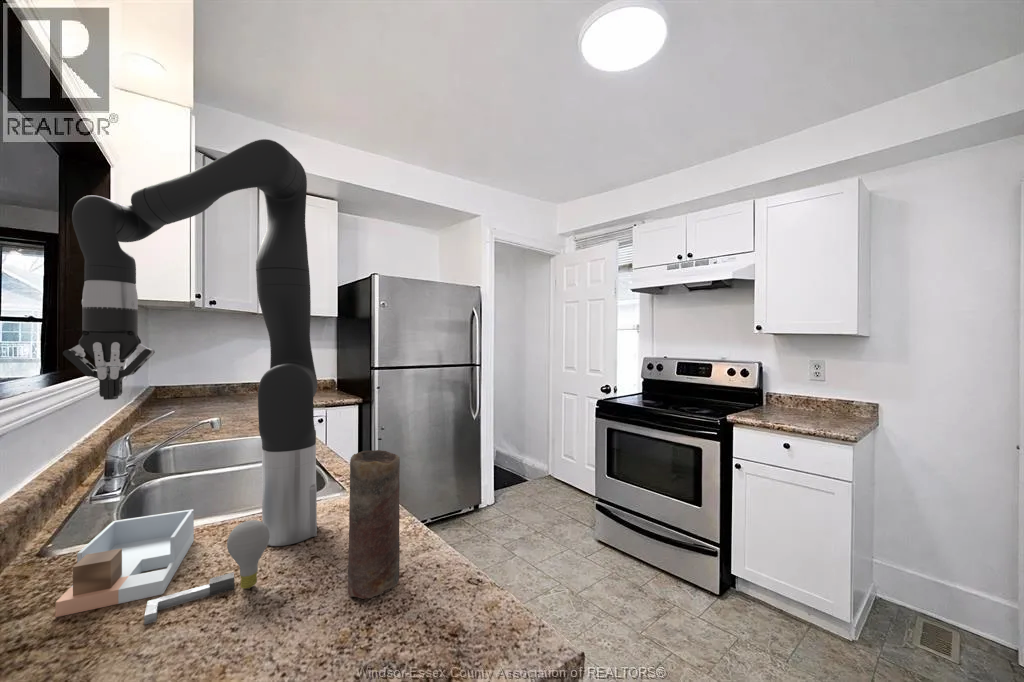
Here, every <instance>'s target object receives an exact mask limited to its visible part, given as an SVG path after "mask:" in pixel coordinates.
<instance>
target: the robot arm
mask: <svg viewBox="0 0 1024 682" xmlns="http://www.w3.org/2000/svg"><path fill="white" fill-rule="evenodd" d="M307 179H308V178H307V174H306V170H305V168H304V166H303V165H302V163H301V162H300V161H299V159H297V158H296V157H295V156H294V155H293V154H292V153H291V152H290V151H289V150H288V149H287V148H286V147H285V146H283V145H282V144H280V143H279V142H277V141H275V140H272V139H266V138H265V139H264V138H263V139H262V138H261V139H257V140H253V141H252V142H250V143H247V144H244V145H242V146H241V147H237V148H236V149H235V150H233V151H231V152H229V153H227V154H225V155H223V156H221V157H220V158H217V159H215V160H213V161H211V162H209V163H207V164H206V165H203V166H201V167H199V168H197V169H195V170H193V171H191V172H188V173H186V174H183V175H181V176H177V177H173V178H171V179H169V180H165V181H161V182H158V183H156V184H151V185H148V186H145V187H142V188H139V189H137V190H135V191H133V193H132V195H131V196H130V203H131V204H129V205H124V204H121V203H119V202H117V201H114V200H111V199H108V198H106V197H103V196H100V195H92V194H91V195H86V196H83V197H82V198H80V199H79V200H77V202H76V203H75V204H74V206H73V209H72V213H71V221H72V222H71V223H72V225H73V230H74V232H75V236H76V238H77V242H78V244H79V249H80V250H81V253H82V255H83V258H84V284H83V288H82V299H81V305H82V314H81V315H82V317H81V318H82V327H81V329H82V335H81V337H80V339H79V340H78V344H77V345H75V346H73V347H72V348H70V349H65V350H64V351H62V355H63V357H65V358H66V359H67V360H68V361H69V362H71V364H73V365H74V366H75V367H76V368H77V369H78V370H79V371H80V372H82V374H84V376H85V377H87V378H89V377H91V378H95V379H97V380H98V382H99V385H98V386H99V388H98V389H99V392H98V393H99V394H98V395H99V396H100V398H101V397H102V398H103V400H104V401H106V400H107V401H108V400H117V399H119V396H122V394H123V379H124V378H126V377H128V376H131V375H133V376H134V375H135V374H136V372H138V371H139V370H140V369H141V368H142V366H144V365H145V364H146V363H147V362H148V361H149V359H151V358H152V356H154V355H155V353H156V352H155V349H153V348H149V347H147V346H145V345H143V344H142V340H141V338H140V337H139V334H138V333H139V328H138V327H139V321H138V320H139V319H138V317H139V316H138V315H139V314H138V313H139V310H138V309H139V308H138V307H139V300H138V299H139V297H138V291H137V290H138V289H137V264H136V260H135V258H134V257H133V256H132V255H131V254H129V253H128V252H125V250H123V249H122V247H121V245H120V243H134V242H138V241H142V240H143V239H144V240H145V238H148V237H149V236H151V235H152V234H154V233H155V232H157V231H159V230H160V229H161V228H163V227H164V226H167V225H170V224H174V223H177V222H181V221H183V220H187V219H189V218H193V217H196V216H197V215H199V214H201V213H203V212H204V211H206V210H207V209H208V208H210V207H211V206H212V205H213V204H214V203H215V202H217V201H218V200H219V199H221V198H222V197H223V196H225V195H228V194H230V193H233V192H236V191H242V190H246V189H253V188H255V189H259V190H260V191H262V192H263V195H264V199H265V208H266V220H267V221H266V229H265V230H266V231H265V232H264V233H265V234H264V236H263V239H262V241H261V244H260V245H259V249H258V251H257V252H258V253H257V256H256V261H255V276H256V292H257V297H258V303H259V307H260V309H261V314H262V316H263V320H264V322H265V327H266V329H267V333H268V337H269V345H270V363H269V369H268V370H266V371H265V373H264V374H263V376H262V377H261V379H260V380H259V385H258V388H257V389H258V390H257V391H258V392H257V411H258V412H257V413H258V415H257V416H258V418H257V419H258V432H259V436H260V439H261V506H262V508H261V518H262V519H261V522H263V523H264V524H265V525H266V526H267V527H268V530H269V535H270V538H269V542H268V545H267V546H270V547H283V546H290V545H293V544H297V543H301V542H303V541H305V540H308V539H310V538H313V537H317V536H318V534H317V533H318V531H317V529H318V528H317V526H318V525H317V522H318V520H317V519H318V518H317V516H318V514H317V513H318V512H317V511H318V509H317V502H318V501H317V497H318V496H317V493H318V492H317V432H316V428H315V419H314V414H315V413H314V398H315V395H316V394H317V390H318V379H317V373H316V369H315V364H314V358H313V357H314V356H313V350H312V344H311V311H312V310H311V309H312V308H311V307H312V306H311V279H310V278H311V277H310V266H309V258H308V257H309V256H308V254H309V253H308V242H307V241H308V238H307V231H306V208H307V207H306V206H307V193H308V192H307V191H308V189H307V188H308V181H307ZM135 351H136V352H135ZM134 352H135V355H136V357H135V358H134V359H133V360H132V361H131V362H130V363H129V364H128V365H127V366H126V364H127V363H126V362H127V360H128V359H129V358H130V356H132V355H133V354H134ZM86 353H87V355H89V356H90V357H91V359H93V360H94V364H92V363H91V362H90V361H89V360H88V359H87V358H85V357H86ZM94 365H95V366H94Z"/></svg>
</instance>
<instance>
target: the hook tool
mask: <svg viewBox="0 0 1024 682" xmlns="http://www.w3.org/2000/svg"><path fill="white" fill-rule="evenodd" d="M233 590H235V573H234V572H229V573H226V574H222V575H218V576H214V577H211V578H209V583H208V584H207V583H206V584H204V585H203V584H202V585H200V586H196V587H193V588H189V589H186V590H181V591H179V592H175V593H170V594H168V595H164V596H160V597H156V598H154V599H151V600H150V599H149V600H147V603H146V606H145V611H144V612H145V613H144V615H143V616H144V617H143V620H144V621H143V622H144V626H145V625H148V624H152V623H156V622H157V619H158V613H159V611H162V610H165V609H168V608H171V607H176V606H179V605H182V604H185V603H188V602H192V601H195V600H200V599H202V598H207V597H213V596H216V595H219V594H223V593H227V592H230V591H233Z"/></svg>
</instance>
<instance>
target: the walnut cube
mask: <svg viewBox="0 0 1024 682" xmlns="http://www.w3.org/2000/svg"><path fill="white" fill-rule="evenodd" d="M121 575H122V548H121V549H116V550H110V551H104V552H98V553H92V554H86V555H85V556H84V557H83V558H82V559H81V560H80V561H79V562H78V563H77V562H76V564H75V565H73V567H72V585H73V596H76V595H81V594H86V593H91V592H96V591H101V590H106V589H111V588H112V586H113V585H114V584H115V583H116V581H117V580H118V579H119V578H120V577H121Z"/></svg>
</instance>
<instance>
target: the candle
mask: <svg viewBox="0 0 1024 682" xmlns="http://www.w3.org/2000/svg"><path fill="white" fill-rule="evenodd" d="M400 459H401V458H400V456H399V455H398V454H396V453H392V452H389V451H387V450H380V449H376V450H373V449H372V450H362V451H360V452H356V453H354V454H353V455H352V456H351V457H350V462H349V499H348V500H349V504H348V505H349V506H348V508H349V511H348V512H349V513H348V515H349V516H348V517H349V518H348V521H349V522H348V525H349V526H348V529H349V530H348V553H347V557H348V559H347V560H348V561H347V594H348V596H349V597H350V598H351V597H354V598H358V599H362V600H367V599H371V598H373V597H375V596H376V597H377V596H380V595H381V594H385V593H387V592H388V591H391V590H393V588H395V587H396V586H397V585H398V583H399V581H400V562H401V561H400V557H401V556H400V555H401V554H400V550H401V549H400V490H401V489H400V484H401V482H400V468H401V467H400V466H401V465H400V463H401V462H400V461H401V460H400Z"/></svg>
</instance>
